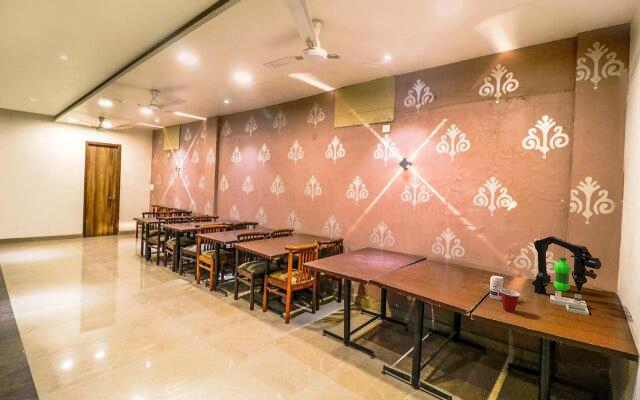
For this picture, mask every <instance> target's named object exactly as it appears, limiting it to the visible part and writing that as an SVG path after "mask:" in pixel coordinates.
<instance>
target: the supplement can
mask: <svg viewBox="0 0 640 400" xmlns="http://www.w3.org/2000/svg"><path fill="white" fill-rule="evenodd" d="M501 289H505V279H504V277H503V276H499V275H491V277H490V285H489V297H490V299H491V300H492V299H493V300H494V299H495V301H502V296H501V292H500V290H501Z"/></svg>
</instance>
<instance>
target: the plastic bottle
mask: <svg viewBox="0 0 640 400" xmlns="http://www.w3.org/2000/svg"><path fill="white" fill-rule="evenodd" d="M558 258H559V261H558V262H557V263H555V264H554V266H553V270H554V271H555V281H554V282H553V286H554V288H555V289H556V291H560V292H564V293H565V292H566V291H569V290H570V288H571V285H570V284H569V280H570V274H572V267H571V266H570V265H569V264H568V263H567V261H568V260H567V258H568V257H565V256H564V257H563V256H560V257H558Z"/></svg>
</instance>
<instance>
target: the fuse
mask: <svg viewBox="0 0 640 400" xmlns="http://www.w3.org/2000/svg"><path fill="white" fill-rule="evenodd" d="M554 296H555V299H560V300H561V297H562V291H559V290H555V294H554Z"/></svg>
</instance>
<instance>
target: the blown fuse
mask: <svg viewBox="0 0 640 400" xmlns="http://www.w3.org/2000/svg"><path fill="white" fill-rule="evenodd" d="M574 299H575V301H574V302H576V303H581V300H582V295H581V294H577V293H574Z"/></svg>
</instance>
